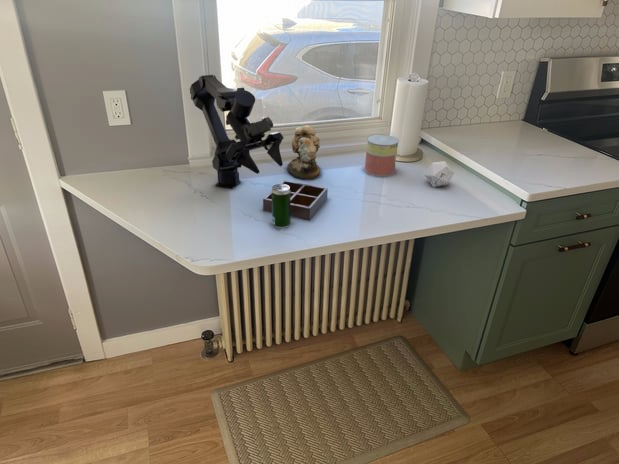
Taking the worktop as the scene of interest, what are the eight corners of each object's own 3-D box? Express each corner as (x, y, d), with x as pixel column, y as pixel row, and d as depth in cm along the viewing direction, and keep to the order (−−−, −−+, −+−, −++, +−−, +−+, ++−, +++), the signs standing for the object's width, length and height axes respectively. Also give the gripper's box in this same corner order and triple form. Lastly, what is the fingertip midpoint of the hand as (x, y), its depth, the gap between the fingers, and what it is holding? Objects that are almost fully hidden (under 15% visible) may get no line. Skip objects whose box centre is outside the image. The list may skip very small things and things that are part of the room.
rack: (263, 210, 144) (262, 198, 142) (283, 191, 157) (283, 179, 155) (309, 220, 140) (310, 208, 138) (327, 199, 152) (327, 188, 150)
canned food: (396, 176, 170) (400, 145, 163) (365, 176, 170) (368, 144, 163) (392, 165, 179) (396, 134, 173) (363, 164, 179) (365, 134, 173)
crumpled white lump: (419, 186, 165) (432, 171, 156) (424, 166, 169) (437, 151, 160) (440, 195, 165) (454, 182, 156) (445, 176, 169) (460, 161, 160)
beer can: (278, 230, 134) (277, 193, 128) (268, 223, 138) (267, 186, 132) (293, 226, 136) (294, 188, 130) (284, 218, 140) (284, 182, 134)
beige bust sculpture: (281, 163, 178) (281, 119, 170) (311, 160, 182) (312, 117, 173) (294, 181, 164) (295, 134, 155) (326, 178, 167) (328, 132, 158)
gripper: (227, 114, 127) (257, 160, 124) (277, 104, 139) (305, 146, 136) (213, 139, 135) (241, 183, 132) (262, 128, 147) (288, 167, 145)
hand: (270, 169), depth 136 cm, fingers open, 9 cm apart
